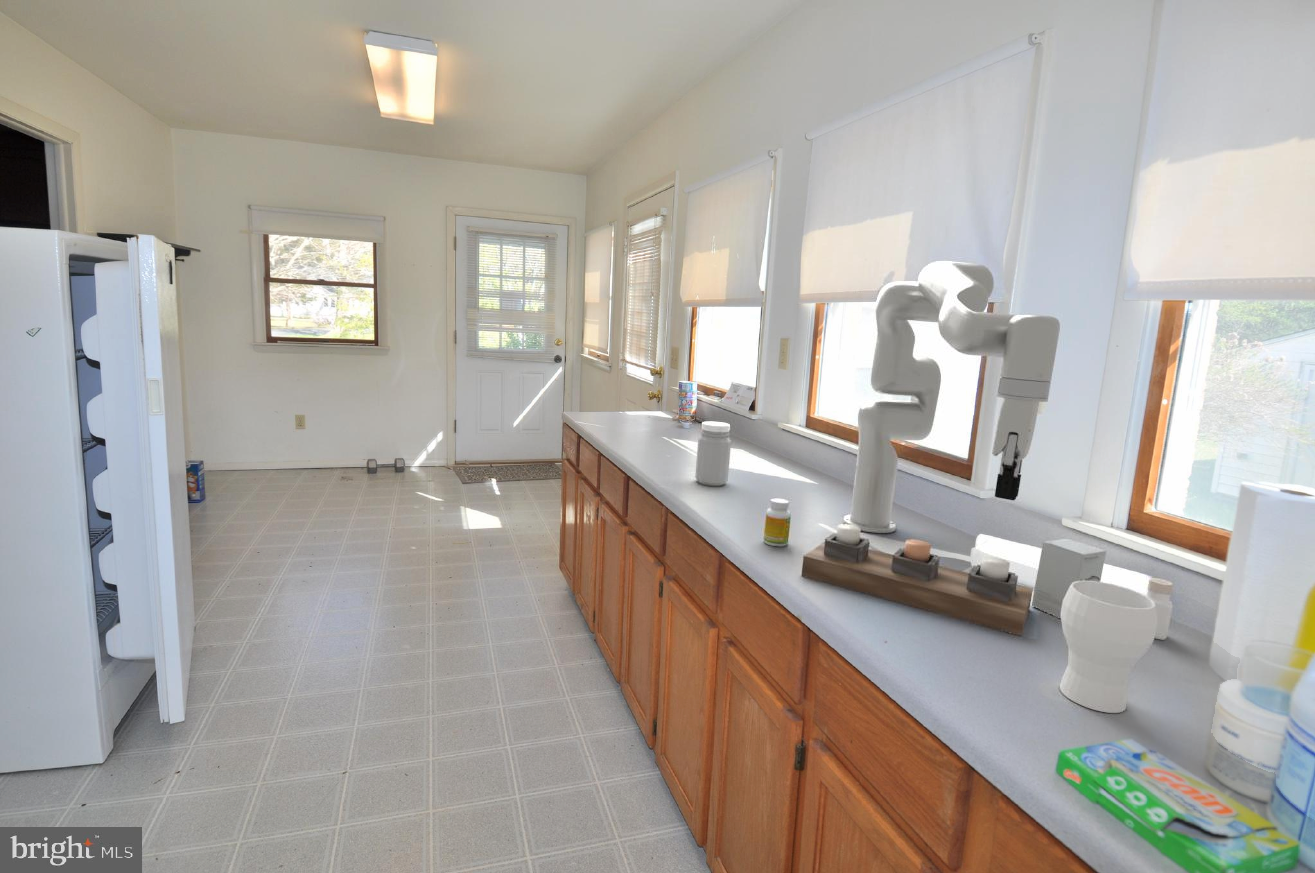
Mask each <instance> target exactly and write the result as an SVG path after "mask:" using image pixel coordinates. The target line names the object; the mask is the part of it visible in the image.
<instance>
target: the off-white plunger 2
mask: <svg viewBox="0 0 1315 873" xmlns="http://www.w3.org/2000/svg"><path fill="white" fill-rule="evenodd" d="M980 562H981V563H980V565H981V567H980V573H979V575H980V576H983V577H987V578H991V579H995V580H999V581H1003V582H1006V581H1007V578H1008V572H1010V564H1011V563H1010V562H1009V561H1008V560H1006V559H1003V558H1001V557H995V556H982V558H981V561H980Z"/></svg>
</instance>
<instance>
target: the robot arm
mask: <svg viewBox="0 0 1315 873" xmlns="http://www.w3.org/2000/svg"><path fill="white" fill-rule="evenodd" d="M994 280H995V279H994V276H993V274H992V272H991V271H990V269H989V268H988V267H986V265H982V264H980V263H974V262H973V263H972V262H961V261H953V260H952V261H951V260H950V261H949V260H940V261H934V262H931V263H929V264H928V265H926V266H925V267H924V268H922V270H921V271H920V273H919V275H918V280H917V281H907V280H906V281H904V280H903V281H893V282H889V283H887V284H886V285H884V286H883V287H882V288H881V290H880V291H879V293H878V296H877V299H876V304H875V319H876V327H877V328H876V329H877V330H876V331H877V336H876V343H875V348H874V354H873V362H872V366H871V373H870V374H871V376H870V384H871V385H870V386H871V388H872V390H873V391H874V392H876V393H878V394H882V395H890V396H903V397H904V396H905V397H910V400H898V399H896V400H895V399H882V398H880V399H871V400H868V401H866V402H864V403H863V404H862V405H861V406H860V408H859V409H858V414H857V426H858V444H857V446H858V447H857V456H856V464H855V465H856V466H855V472H854V474H855V475H854V482H853V489H852V498H851V499H852V500H851V504H850V506H851V507H850V513H849V514H847V515H844V516H843V517H842V518H843V520H842V521H843V524H848V525H854V526H857V527H859V528H860V529H861V532H867V533H873V534H875V533H876V534H890V533H893V532H895V531H896V528H897V524H896V523H895V522H893V521H892V520H891V519H892V518H891V516H892V511H893V502H894V495H895V489H896V488H895V487H896V486H895V485H896V479H897V473H898V472H897V471H898V464H899V457H898V454H897V452H896V450H895V448H894V446H893V444H892V442H891V441H896V440H898V441H899V440H900V441H922V440H924V439H926V438H927V437H928V436H930V434H931V432H932V428H933V426H934V422H935V417H936V411H937V405H938V399H939V394H940V389H941V382H942V374H941V369H940V366H939V364H938V362H936V361H935V360H934V359H933V358H930V357H927V356H915V355H914V348H915V344H916V343H915V342H916V335H915V332H914V330H913V327H912V326H911V323H910V322H909V321H916V322H929V323H938V324H937V325H938V329H939V330H938V331H939V333H940V336H941V337H942V339H943V340H944V341H945V342H946V343H947V344H948V345H949V346H950V347H951V348H953V349H954V350H955V351H957V352H959V353H961V354H963V355H967V356H978V357H979V356H981V357H996V358H1002V363H1001V367H1000V368H1001V369H1000V375H999V381H998V382H999V383H998V387H997V388H998V389H997V394H996V396H997V397H998V398H1000V399H1002V403H1001V407H1000V411H999V415H998V420H997V425H996V431H995V437H994V441H993V446H992V452H991V453H992V455H993V456H994V457H998V455H1000V454H1001V453H1002V454H1001V458H1000V459H1001V460H1000V466H999V473H998V474H997V478H996V479H997V480H996V484H995V485H996V486H995V491H994V497H995V498H998V499H1004V500H1007V501H1016V499H1017V498H1018V496H1019V491H1020V484H1021V479H1022V478H1021V477H1022V474H1021V471H1022V465H1023V460H1024V459H1026V457H1027V456H1028V454H1029V453H1030V448H1031V445H1032V441H1033V438H1034V432H1035V428H1036V423H1037V418H1038V417H1037V416H1038V411H1039V405H1040V403H1044V402H1045V403H1046V402H1048V401H1049V395H1050V389H1051V383H1052V377H1053V373H1054V372H1053V371H1054V366H1055V361H1056V360H1055V359H1056V355H1057V354H1056V353H1057V348H1058V341H1059V336H1060V329H1061V323H1060V321H1059V320H1058V319H1057V318H1056V317H1054V316H1050V315H1049V316H1048V315H1038V314H1037V315H1036V314H1009V313H1008V314H1006V313H997V312H985V310H986V308H987V306H988V302H989V298H990V297H991V296H992V293H993V291H994V290H993V289H994V284H995V283H994V282H995V281H994Z"/></svg>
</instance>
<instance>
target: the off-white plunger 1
mask: <svg viewBox="0 0 1315 873" xmlns="http://www.w3.org/2000/svg"><path fill="white" fill-rule="evenodd" d="M861 532H862V531H861V529H860V528H859V527H857V526H854V525H848V524H844V523H843V524H838V525H837V527H836V533H837V534H836V541H837V542H841V543H845V544H849V545H854V546H857V545H859V540H860V537H861Z"/></svg>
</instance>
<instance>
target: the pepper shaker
mask: <svg viewBox="0 0 1315 873" xmlns="http://www.w3.org/2000/svg"><path fill="white" fill-rule="evenodd" d="M1173 587H1174V584H1173V583H1172V582H1171V581H1169V580H1166V579H1162V578H1156V577H1151V578H1149V581H1148V584H1147V592H1146V594H1144V595H1145V596H1147V597H1149V598H1150V599H1151V600H1153V601H1154V603H1155V605H1156V614H1157V628H1156V633H1155V637H1154V639H1157V640H1161V641H1163V640H1166V639H1167V636H1168V631H1169V628H1170V627H1169V626H1170V622H1171V619H1172V618H1171V617H1172V612H1173V607H1174V606H1173V603H1172V601H1171V600H1170V598H1171V595H1172V591H1173Z"/></svg>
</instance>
